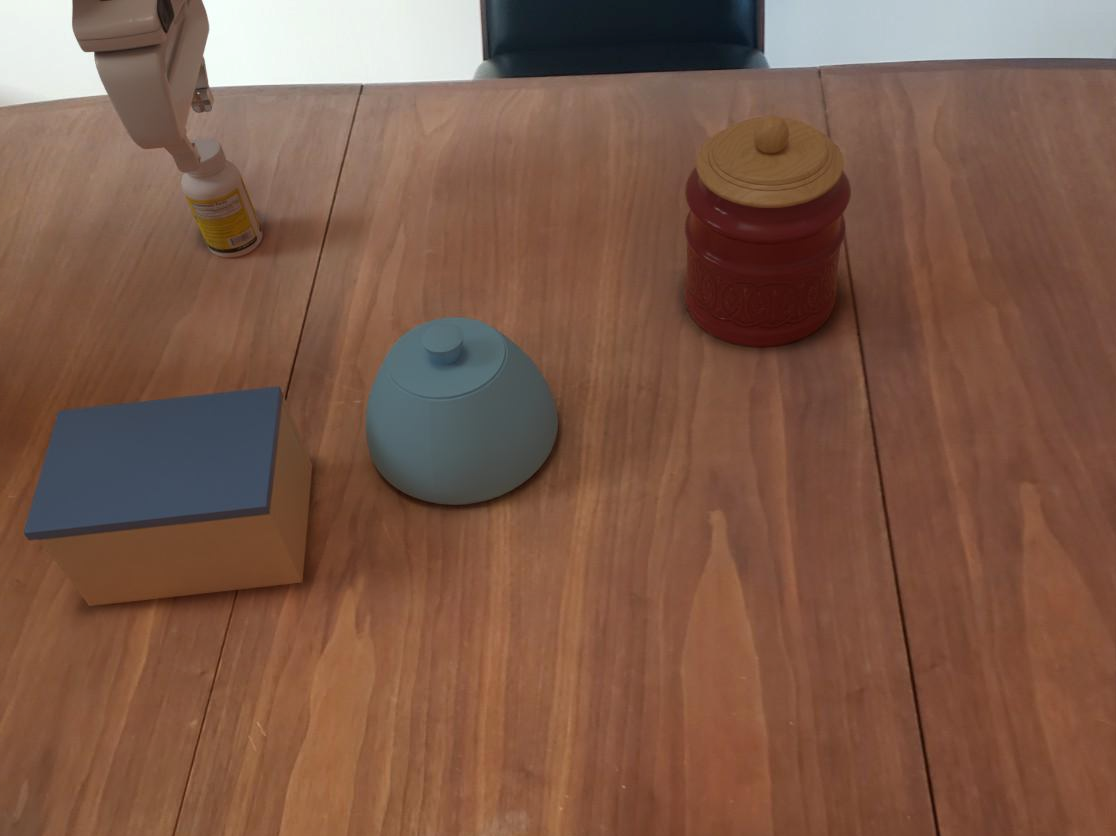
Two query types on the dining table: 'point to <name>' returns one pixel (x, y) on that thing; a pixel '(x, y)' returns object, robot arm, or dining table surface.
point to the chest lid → (158, 463)
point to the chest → (200, 544)
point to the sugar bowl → (459, 413)
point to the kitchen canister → (765, 231)
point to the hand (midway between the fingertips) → (198, 137)
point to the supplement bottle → (221, 203)
